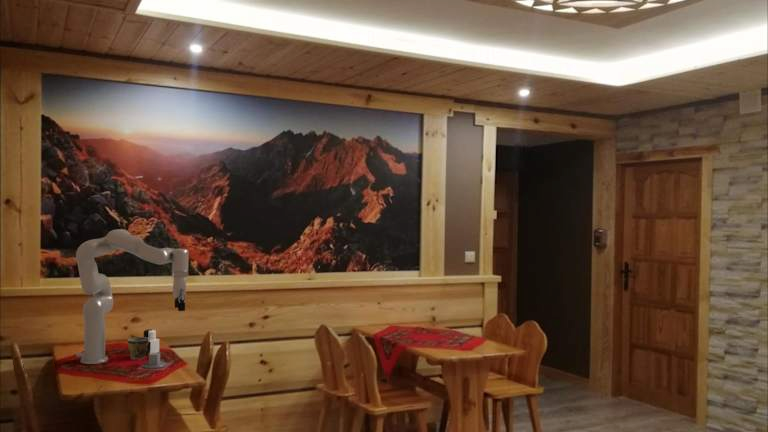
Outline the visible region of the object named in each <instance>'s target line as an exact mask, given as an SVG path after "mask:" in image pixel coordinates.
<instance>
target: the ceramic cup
mask: <svg viewBox="0 0 768 432" xmlns="http://www.w3.org/2000/svg"><path fill="white" fill-rule="evenodd" d="M148 341H149V338H146V337H144V336H134V337H130V338H128V339H127V345H128V348H129V349H128V350H129V357H130V360H136V361H137V360H138V361H139V360H143V359H145V357H146V349H147V345H148Z"/></svg>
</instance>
